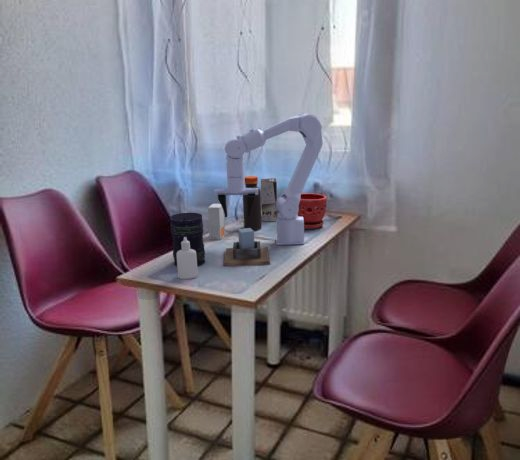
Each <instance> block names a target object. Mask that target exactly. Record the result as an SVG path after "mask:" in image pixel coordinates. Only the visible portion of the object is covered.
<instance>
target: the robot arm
mask: <svg viewBox="0 0 520 460" xmlns="http://www.w3.org/2000/svg"><path fill="white" fill-rule="evenodd" d="M322 128H323V126H322V124H321V122H320V120H319V118H318V117H317V116H316V115H315V114H310V113H305V112H302V113H300V114H298V115H293V116H291V117H288V118H285V119H284V120H282V121H279V122H277V123H275V124H273V125H271V126H269V127H268V128H265V129H263V130H261V129H258V128H255V129H254V128H251V129H249V132H247V133H245V134H242V135H236V136H235V137H236V139H235V138H231V139H229V140H227V142H226V143H225V146H224V151H225V153H226V159H225V160H226V165H225V166H226V182H227V188H219V189H214V190H213V192H214V197H217V200H218V201H219V204H221V206H222V208H223V211H224V218H228V209H227V208H228V207H227V196H243V195H248V216H250V210H251V206H252V203H253V201H254V199H255V195H258V188H259V187H258V188H245V187H246V185H245V162H244V153H250V152H252V151H255V150H257V149H259V148H260V147H261V148H262V147H263V146H264V145H265V144H266V141H267V140H269V139H271V138H274V137H276V136H279V135H282V134H284V133H287V132H297V133H300V135H301V136H302V138H303V141H304V143H305V146H304V149H303V151H302V153H301V155H300V158H299V160H298V162H297V165H296V167H295V170H294V171H293V174H292V176H291V177H290V181H289V183H288V185H287V187H286V188H285V189H284V190H283V192H282V194H281V195H280V196H279V197H277V201H276V208H277V221H276V236H275V242H276V245H277V246H286V245H304V244H305V229H304V219H303V217H299V216H298V215H297V214H298V211H299V207H298V206H299V203H300V198H301V194H302V192H303V190H304V187H305V185H306V183H307V181H308V179H309V176H310V174H311V171H312V169H313V168H314V166H315V163H316V161H317V158H318V156H319V154H320V152H321V150H322V147H323V145H324V144H323V135H322Z"/></svg>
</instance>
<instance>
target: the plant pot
mask: <svg viewBox="0 0 520 460" xmlns="http://www.w3.org/2000/svg"><path fill="white" fill-rule="evenodd" d="M327 204H328V198H327V196H326V195H325V194H320V193H308V192H307V193H301V198H300V203H299V206H298V207H299V211H298V214H297V215H298V216H299V217H303V219H304V230H305V229H307V230H312V229H313V230H314V229H319V228H321V227H322V226H323V225H324V223H325V221H324V220H323V219H324V217H325V214H326V211H327Z"/></svg>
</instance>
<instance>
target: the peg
mask: <svg viewBox="0 0 520 460" xmlns="http://www.w3.org/2000/svg"><path fill="white" fill-rule="evenodd" d="M237 231H238V242H239V249H254V241H255V231H253V230H252V229H251V228H245V229H244V228H238V230H237Z"/></svg>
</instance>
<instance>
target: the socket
mask: <svg viewBox="0 0 520 460" xmlns="http://www.w3.org/2000/svg"><path fill="white" fill-rule="evenodd" d="M232 245H233V246H232V247H227V248H225V254H224V261H223V266H225V267H230V266H232V267H233V266H257V265H259V266H261V265H271V258H270V252H269V251H270V249H269V246H261V241H258V240H254V249H239V241H236V242H235V241H234V242H233V244H232Z"/></svg>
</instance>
